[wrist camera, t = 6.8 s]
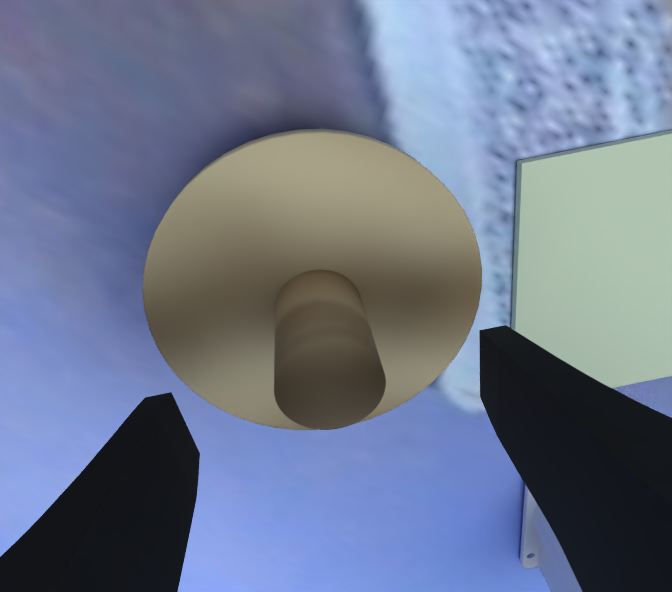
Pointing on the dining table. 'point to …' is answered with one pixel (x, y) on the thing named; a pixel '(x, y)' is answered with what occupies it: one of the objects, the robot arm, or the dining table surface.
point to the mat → (597, 257)
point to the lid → (312, 280)
